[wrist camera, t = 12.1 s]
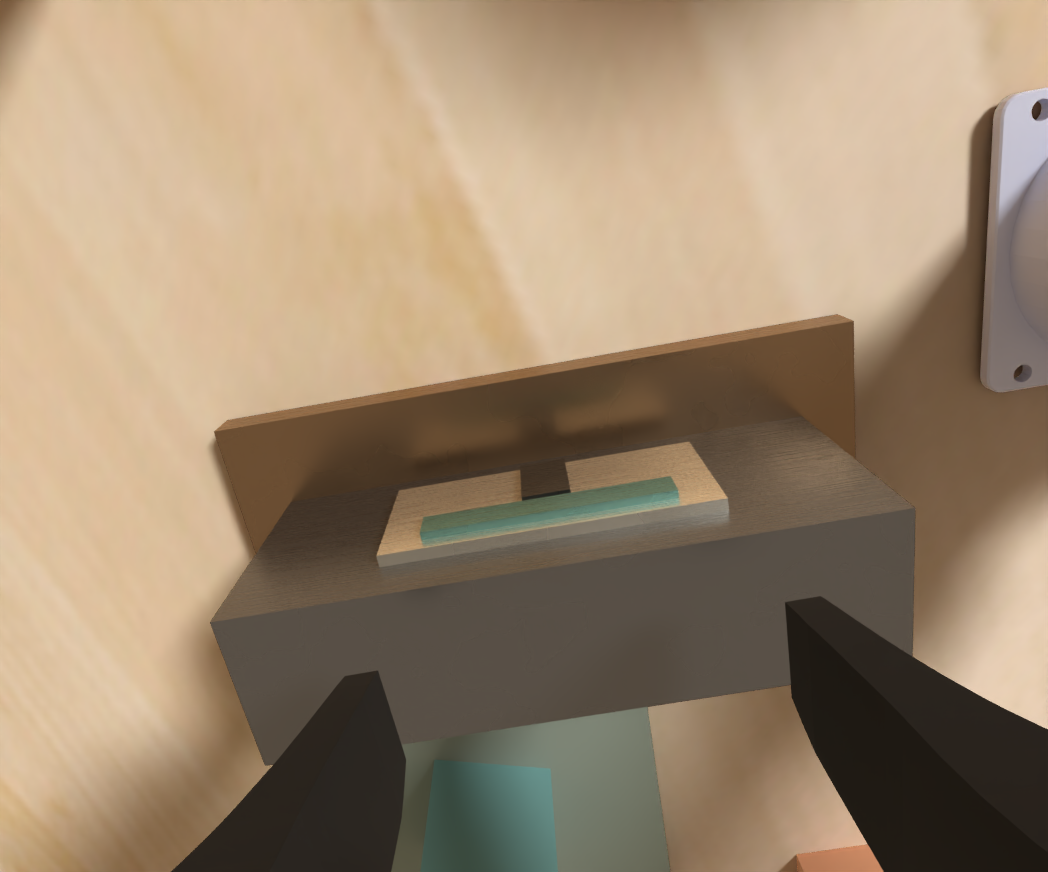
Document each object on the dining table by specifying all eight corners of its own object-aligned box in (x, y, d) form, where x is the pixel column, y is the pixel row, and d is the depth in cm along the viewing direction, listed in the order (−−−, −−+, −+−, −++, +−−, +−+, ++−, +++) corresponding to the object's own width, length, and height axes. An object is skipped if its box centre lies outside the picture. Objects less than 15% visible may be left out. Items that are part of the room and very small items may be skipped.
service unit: (837, 314, 20) (995, 379, 14) (842, 557, 23) (976, 709, 16) (227, 420, 21) (98, 531, 14) (302, 643, 24) (223, 822, 17)
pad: (632, 616, 24) (637, 635, 23) (668, 874, 28) (674, 898, 27) (281, 672, 24) (272, 692, 23) (368, 917, 28) (363, 943, 27)
